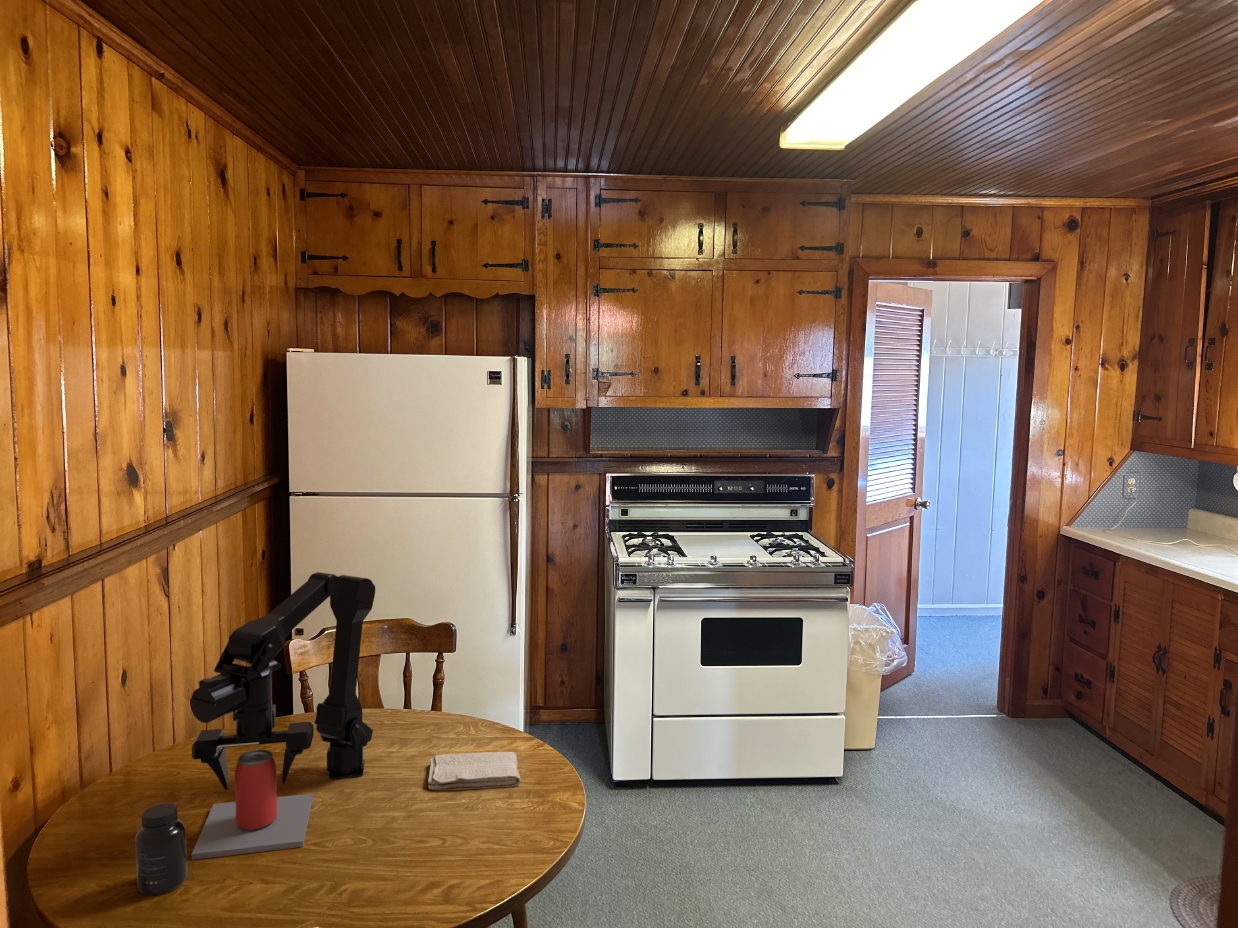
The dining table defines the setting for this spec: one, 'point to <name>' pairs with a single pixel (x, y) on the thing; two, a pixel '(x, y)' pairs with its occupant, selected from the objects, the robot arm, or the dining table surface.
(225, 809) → the slate board
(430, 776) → the washcloth
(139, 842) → the supplement bottle
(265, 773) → the beer can
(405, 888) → the dining table surface
